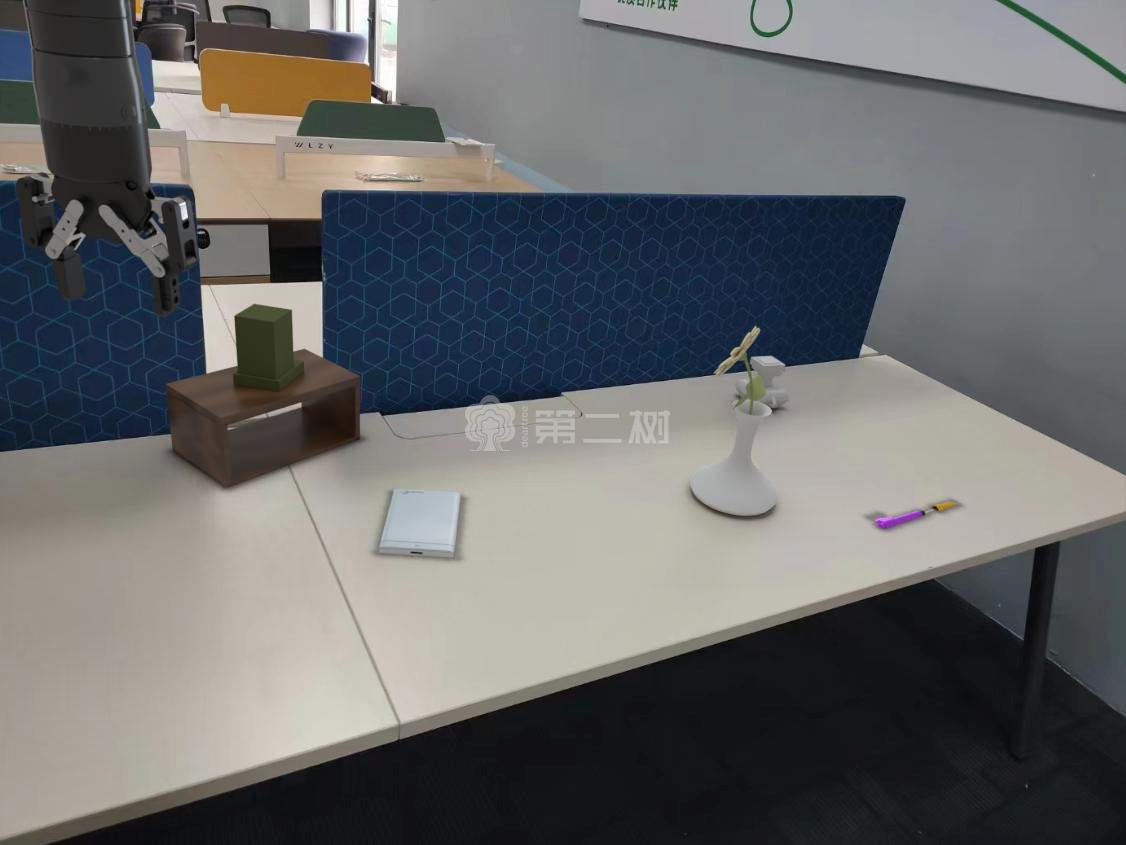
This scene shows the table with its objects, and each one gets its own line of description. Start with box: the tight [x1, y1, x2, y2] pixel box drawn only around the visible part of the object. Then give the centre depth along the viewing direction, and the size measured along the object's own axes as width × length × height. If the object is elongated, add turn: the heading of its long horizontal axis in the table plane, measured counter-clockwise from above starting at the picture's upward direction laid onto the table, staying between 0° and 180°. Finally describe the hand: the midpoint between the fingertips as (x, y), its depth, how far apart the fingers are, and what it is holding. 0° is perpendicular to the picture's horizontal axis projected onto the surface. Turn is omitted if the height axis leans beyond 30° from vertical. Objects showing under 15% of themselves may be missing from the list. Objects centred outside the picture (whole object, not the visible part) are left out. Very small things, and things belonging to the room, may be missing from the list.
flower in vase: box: [689, 325, 777, 517], centre depth 106 cm, size 13×11×25 cm
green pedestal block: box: [233, 303, 304, 392], centre depth 105 cm, size 7×6×9 cm
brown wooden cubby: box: [165, 348, 361, 489], centre depth 109 cm, size 12×20×10 cm, turn 141°
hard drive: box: [378, 488, 462, 559], centre depth 98 cm, size 2×8×12 cm
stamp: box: [734, 355, 790, 409], centre depth 140 cm, size 9×7×8 cm
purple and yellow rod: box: [873, 501, 958, 530], centre depth 113 cm, size 3×1×16 cm
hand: (120, 305), depth 74 cm, fingers open, 8 cm apart
